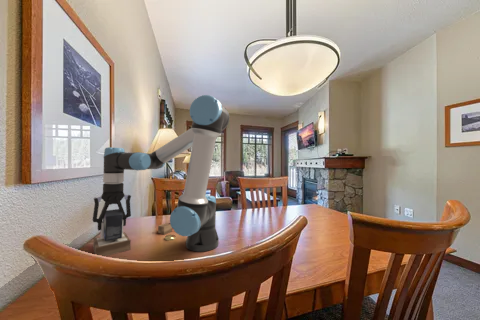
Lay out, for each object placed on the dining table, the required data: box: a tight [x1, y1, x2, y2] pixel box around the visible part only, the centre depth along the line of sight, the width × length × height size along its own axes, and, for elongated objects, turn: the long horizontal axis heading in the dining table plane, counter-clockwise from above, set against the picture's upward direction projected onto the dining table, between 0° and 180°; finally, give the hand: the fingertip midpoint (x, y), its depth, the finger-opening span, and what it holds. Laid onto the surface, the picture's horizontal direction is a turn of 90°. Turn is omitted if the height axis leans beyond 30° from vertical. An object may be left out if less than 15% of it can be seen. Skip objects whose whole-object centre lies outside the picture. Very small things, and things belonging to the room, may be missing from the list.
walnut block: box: [157, 223, 173, 236], centre depth 103 cm, size 5×5×4 cm
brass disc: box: [164, 234, 177, 242], centre depth 95 cm, size 5×5×1 cm
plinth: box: [92, 231, 132, 257], centre depth 83 cm, size 12×12×4 cm
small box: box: [102, 208, 123, 241], centre depth 83 cm, size 11×6×10 cm, turn 40°
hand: (111, 235), depth 83 cm, fingers closed on small box, 6 cm apart
